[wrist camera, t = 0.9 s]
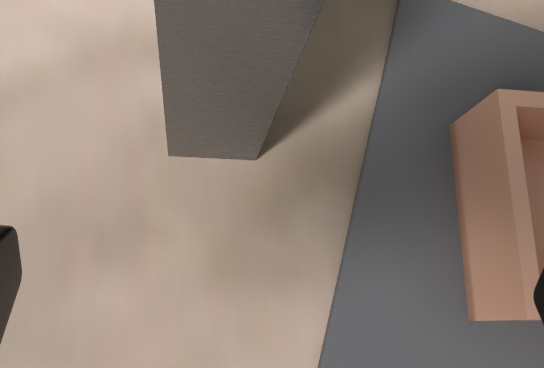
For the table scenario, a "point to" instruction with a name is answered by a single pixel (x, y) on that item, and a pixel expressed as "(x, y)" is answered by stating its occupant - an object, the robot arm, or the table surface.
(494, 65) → the mat
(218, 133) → the grey block
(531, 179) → the open box
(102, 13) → the table surface
